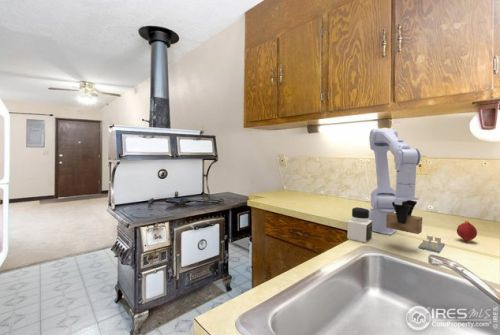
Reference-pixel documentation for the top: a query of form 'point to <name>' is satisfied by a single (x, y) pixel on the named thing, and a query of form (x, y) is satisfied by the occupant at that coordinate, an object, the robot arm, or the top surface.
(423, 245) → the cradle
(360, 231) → the medicine bottle
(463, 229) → the onion
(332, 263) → the top surface
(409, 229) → the wooden block
